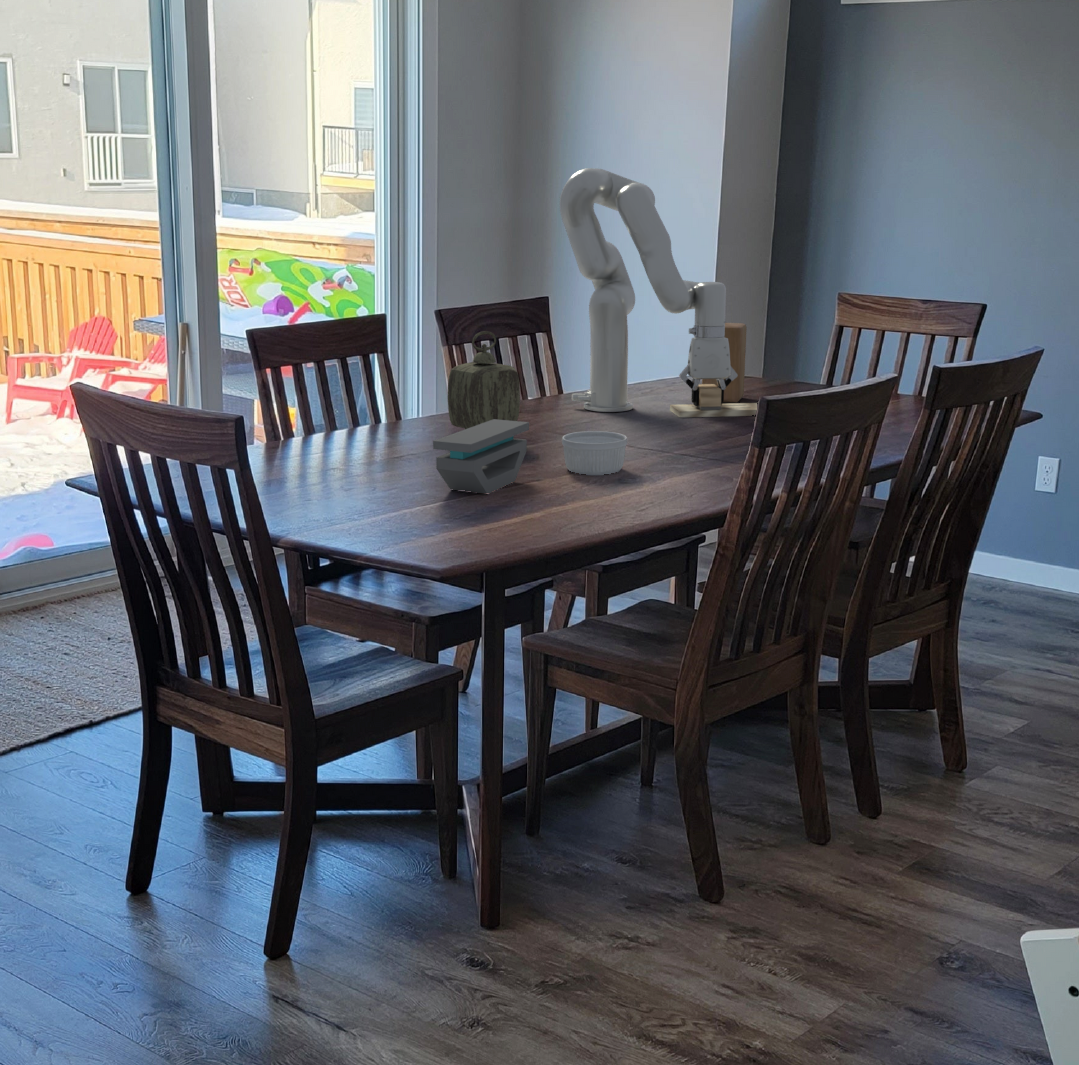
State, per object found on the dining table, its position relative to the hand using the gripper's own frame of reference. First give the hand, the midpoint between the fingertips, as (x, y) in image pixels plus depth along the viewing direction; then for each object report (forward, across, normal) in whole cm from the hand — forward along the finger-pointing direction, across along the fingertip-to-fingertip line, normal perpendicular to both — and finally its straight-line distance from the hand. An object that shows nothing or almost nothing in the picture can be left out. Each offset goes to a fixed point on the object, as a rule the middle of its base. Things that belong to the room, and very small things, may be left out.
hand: (707, 404), depth 343 cm
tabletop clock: (+2, -59, -32) cm, 67 cm away
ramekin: (+3, -40, -62) cm, 74 cm away
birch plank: (+2, +4, 0) cm, 4 cm away
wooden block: (+3, +10, +20) cm, 22 cm away
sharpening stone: (+2, -64, -74) cm, 98 cm away
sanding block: (+1, 0, 0) cm, 1 cm away
